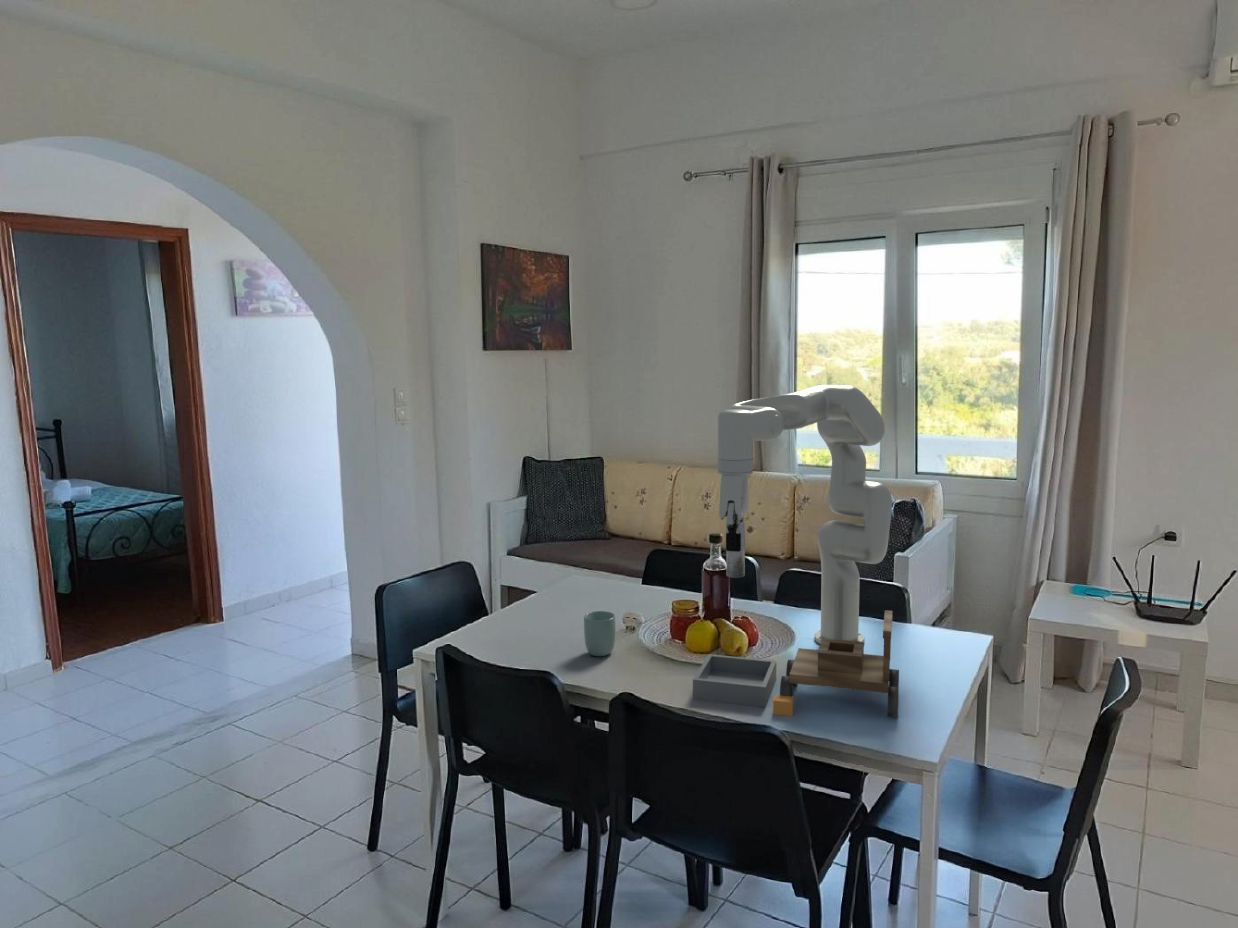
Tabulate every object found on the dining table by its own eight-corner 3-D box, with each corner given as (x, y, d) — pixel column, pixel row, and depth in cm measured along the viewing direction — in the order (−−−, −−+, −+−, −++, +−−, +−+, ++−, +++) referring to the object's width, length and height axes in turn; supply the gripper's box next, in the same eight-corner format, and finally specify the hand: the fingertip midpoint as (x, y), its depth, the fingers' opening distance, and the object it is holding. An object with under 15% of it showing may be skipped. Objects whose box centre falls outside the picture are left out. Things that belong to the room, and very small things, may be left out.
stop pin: (728, 572, 197) (728, 520, 195) (746, 573, 196) (746, 520, 194) (724, 577, 193) (724, 523, 192) (742, 578, 192) (742, 524, 190)
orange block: (775, 708, 188) (775, 694, 187) (794, 710, 187) (794, 696, 186) (773, 713, 185) (773, 700, 185) (792, 716, 184) (792, 702, 183)
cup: (595, 646, 228) (594, 609, 226) (621, 651, 224) (620, 613, 222) (579, 656, 221) (578, 617, 219) (605, 661, 217) (604, 622, 215)
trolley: (789, 680, 203) (790, 601, 200) (898, 691, 195) (900, 610, 192) (779, 708, 188) (780, 623, 185) (897, 721, 180) (899, 633, 177)
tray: (708, 672, 208) (708, 654, 208) (776, 679, 204) (776, 660, 203) (692, 698, 193) (692, 679, 193) (765, 707, 188) (765, 687, 188)
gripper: (725, 460, 200) (726, 539, 203) (710, 471, 184) (710, 556, 187) (758, 461, 198) (758, 540, 200) (745, 472, 182) (745, 558, 185)
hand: (735, 547), depth 194 cm, fingers closed on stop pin, 4 cm apart
